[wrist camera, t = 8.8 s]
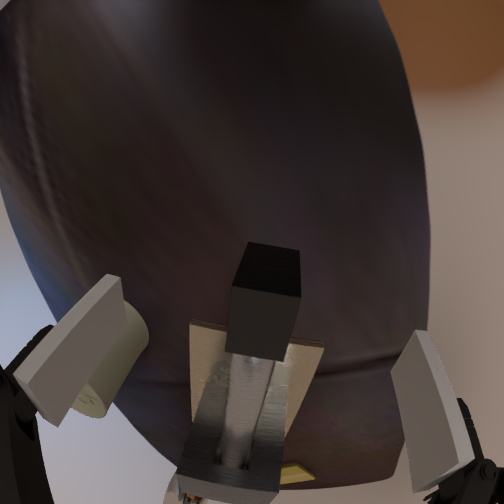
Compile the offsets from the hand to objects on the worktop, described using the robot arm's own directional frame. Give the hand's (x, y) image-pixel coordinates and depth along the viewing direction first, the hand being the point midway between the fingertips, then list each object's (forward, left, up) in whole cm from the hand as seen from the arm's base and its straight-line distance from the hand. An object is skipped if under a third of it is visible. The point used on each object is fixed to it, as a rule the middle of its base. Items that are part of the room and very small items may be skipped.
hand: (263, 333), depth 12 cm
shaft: (+12, 0, -6) cm, 14 cm away
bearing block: (+25, 0, -14) cm, 28 cm away
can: (+16, -17, -14) cm, 27 cm away
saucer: (+48, +11, -14) cm, 51 cm away
